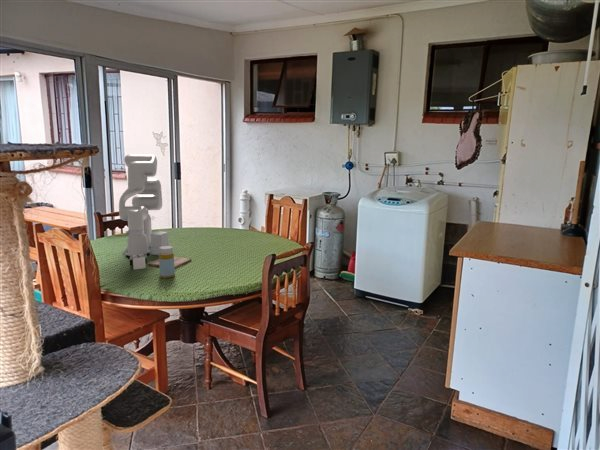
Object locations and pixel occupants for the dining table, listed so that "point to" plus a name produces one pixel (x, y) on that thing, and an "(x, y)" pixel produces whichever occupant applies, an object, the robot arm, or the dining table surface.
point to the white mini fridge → (138, 261)
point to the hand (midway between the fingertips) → (138, 265)
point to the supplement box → (158, 241)
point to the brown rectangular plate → (177, 262)
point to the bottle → (166, 262)
